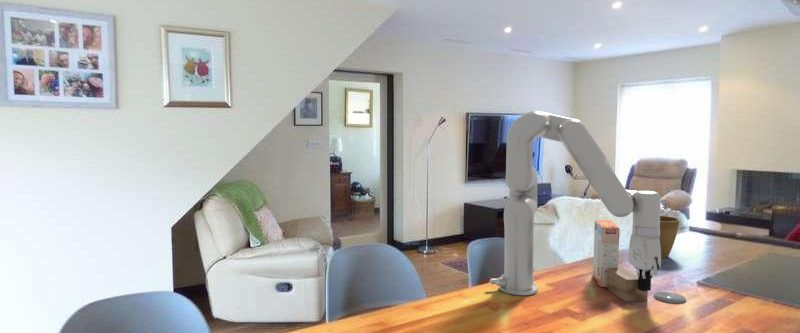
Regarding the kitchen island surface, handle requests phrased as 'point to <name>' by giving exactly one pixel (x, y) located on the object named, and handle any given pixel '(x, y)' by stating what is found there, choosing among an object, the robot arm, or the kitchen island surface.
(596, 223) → the cracker box
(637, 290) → the brown block
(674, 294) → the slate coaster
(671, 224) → the plant pot
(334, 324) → the kitchen island surface
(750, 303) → the kitchen island surface
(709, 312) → the kitchen island surface
